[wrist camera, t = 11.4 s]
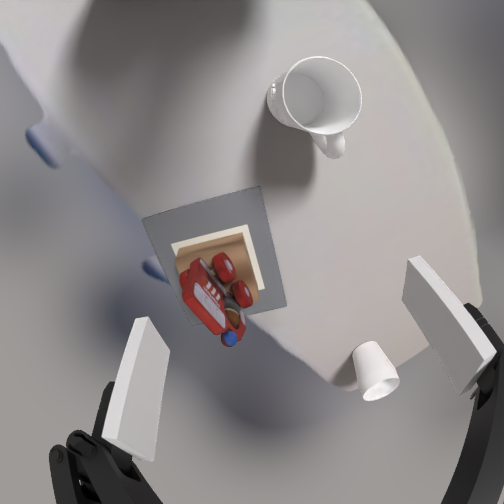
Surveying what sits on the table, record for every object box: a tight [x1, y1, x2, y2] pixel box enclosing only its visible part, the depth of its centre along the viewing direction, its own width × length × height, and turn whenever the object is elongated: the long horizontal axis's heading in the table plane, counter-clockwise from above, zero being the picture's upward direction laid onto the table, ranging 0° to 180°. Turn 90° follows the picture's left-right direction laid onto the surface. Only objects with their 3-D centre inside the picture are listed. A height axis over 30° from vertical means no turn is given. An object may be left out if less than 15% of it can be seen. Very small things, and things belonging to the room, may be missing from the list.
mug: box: [267, 56, 362, 159], centre depth 27 cm, size 8×12×12 cm
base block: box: [174, 232, 260, 302], centre depth 41 cm, size 10×10×4 cm
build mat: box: [142, 186, 287, 326], centre depth 43 cm, size 22×18×1 cm
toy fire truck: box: [179, 252, 253, 347], centre depth 35 cm, size 7×12×10 cm, turn 27°
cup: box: [352, 341, 400, 401], centre depth 52 cm, size 9×9×12 cm
